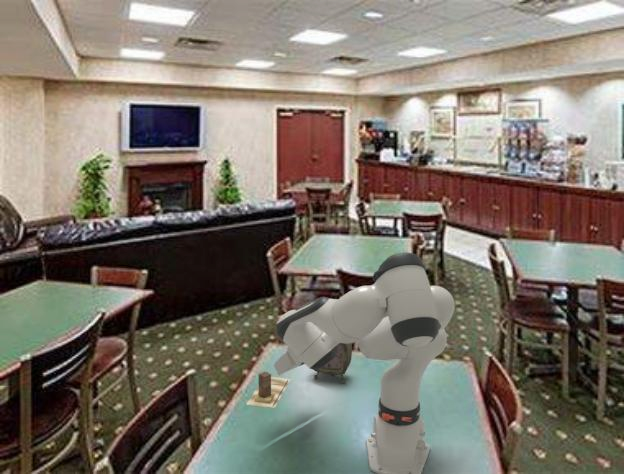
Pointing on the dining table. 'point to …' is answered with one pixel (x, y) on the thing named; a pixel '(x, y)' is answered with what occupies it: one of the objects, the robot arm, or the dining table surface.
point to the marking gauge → (265, 388)
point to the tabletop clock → (338, 362)
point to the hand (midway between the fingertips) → (289, 368)
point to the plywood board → (276, 386)
